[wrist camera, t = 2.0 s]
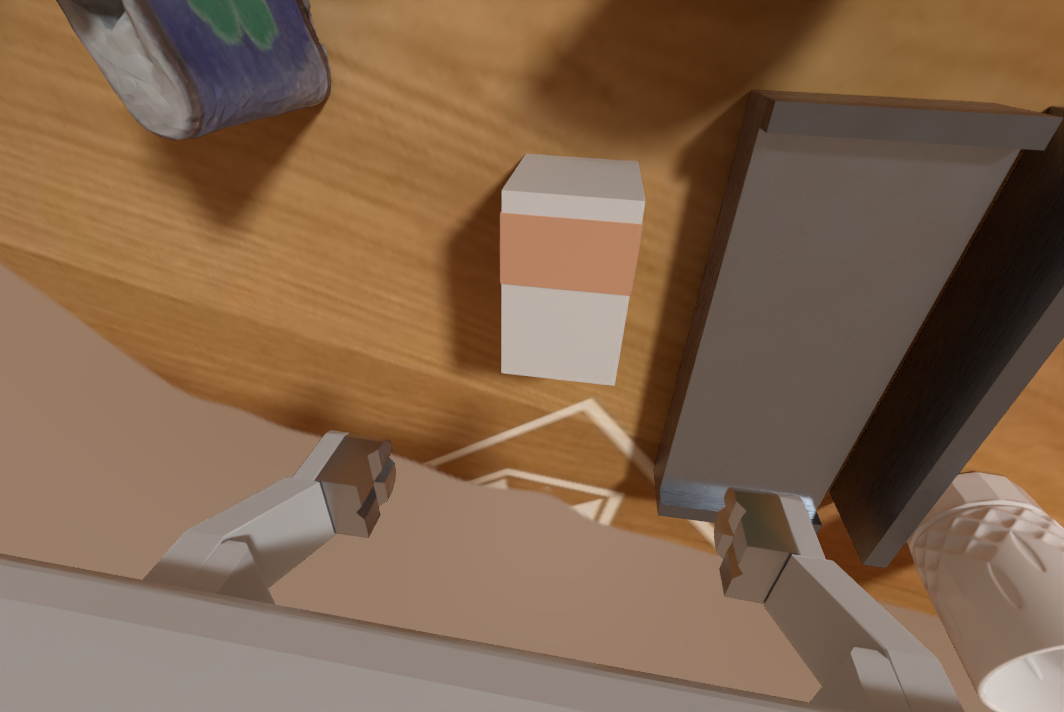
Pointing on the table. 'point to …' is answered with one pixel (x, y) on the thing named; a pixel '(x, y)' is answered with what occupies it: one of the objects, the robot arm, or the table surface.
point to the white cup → (997, 589)
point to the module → (568, 265)
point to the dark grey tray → (866, 306)
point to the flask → (204, 59)
